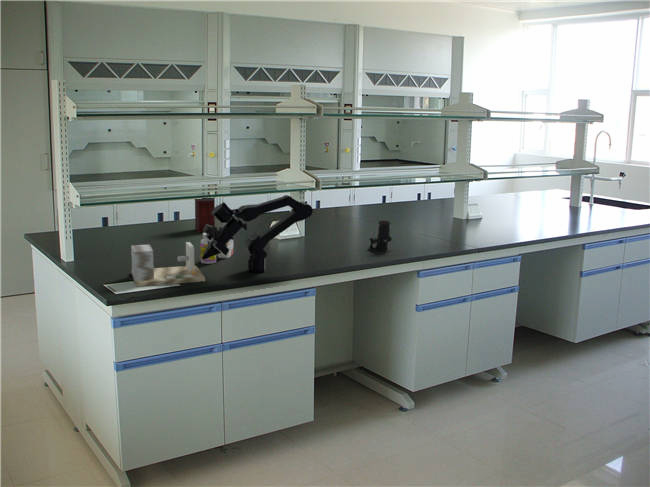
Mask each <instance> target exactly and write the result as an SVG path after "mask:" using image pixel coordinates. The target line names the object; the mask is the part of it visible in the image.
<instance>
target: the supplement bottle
mask: <svg viewBox="0 0 650 487" xmlns="http://www.w3.org/2000/svg"><path fill="white" fill-rule="evenodd" d="M206 235H207V234H206V233H202V239H201V240H200V263H201V264H206V265H210V264H211V265H212V264H215V263H216V262H217V255H214V256H212V257H209V258H207V259H204V260H203V259H202V256H203V254H204V252H205V250H206V248H207V246H208V241H210V240H209V239H208V238H207V237H206ZM207 240H208V241H207Z"/></svg>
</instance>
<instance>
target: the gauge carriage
mask: <svg viewBox="0 0 650 487" xmlns="http://www.w3.org/2000/svg"><path fill="white" fill-rule="evenodd" d="M177 262H185V263H186V264H185V266H186V269H187V270H188V272H189V273H190V274H193V275H196V273H195V272H194V265H195V247H194V245H193V244H192V243H191V242H190V241H186V242H185V255H178V256H177Z"/></svg>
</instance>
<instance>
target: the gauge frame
mask: <svg viewBox="0 0 650 487" xmlns="http://www.w3.org/2000/svg"><path fill="white" fill-rule="evenodd" d="M130 247H131V248H130V249H131V251H130V252H131V254H130V256H131V269H130V271H131V272H130V274H131V276H132V279H133V282H134V284H135V287H137V286H139V287H150V286H149V285H152V286H162V285H161V284H164V285H174V284H187V283H200V282H201V281H202V282H206V276H204V274H203V273H202V272H201V270H200V269H199V268H198V266H197V265H195V264H194V272H195V273H196V275H193V274H190V273H189V272H188V270H187V269H186V265H182V266H167V267H155V266H154V250H153V248H152V246H151V245H150V244H136V245H131V246H130ZM202 282H201V283H202Z"/></svg>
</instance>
